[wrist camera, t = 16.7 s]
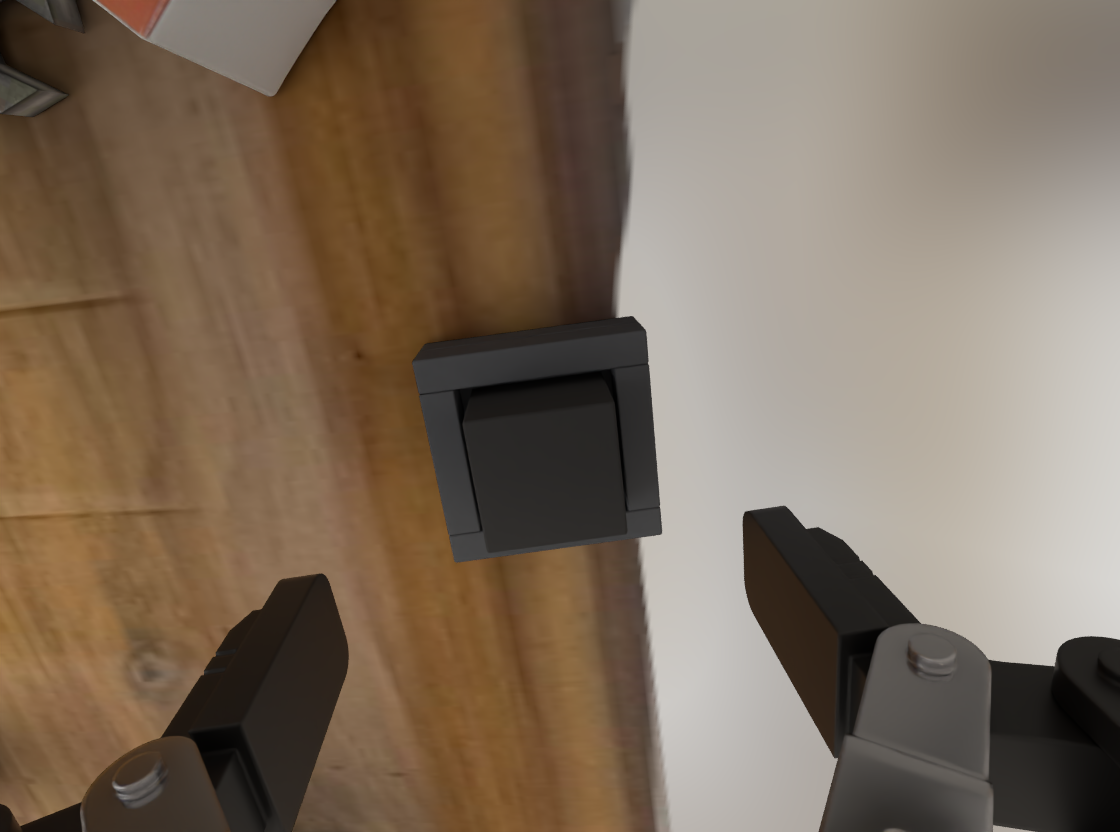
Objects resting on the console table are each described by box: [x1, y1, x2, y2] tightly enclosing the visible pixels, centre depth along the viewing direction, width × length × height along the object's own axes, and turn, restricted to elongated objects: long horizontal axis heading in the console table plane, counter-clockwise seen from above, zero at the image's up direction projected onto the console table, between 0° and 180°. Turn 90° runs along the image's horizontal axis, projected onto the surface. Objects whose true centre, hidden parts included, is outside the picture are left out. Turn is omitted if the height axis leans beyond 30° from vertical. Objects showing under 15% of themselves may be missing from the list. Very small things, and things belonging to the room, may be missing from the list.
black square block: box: [462, 372, 628, 553], centre depth 18 cm, size 4×4×3 cm
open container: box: [412, 316, 662, 562], centre depth 19 cm, size 7×7×2 cm
